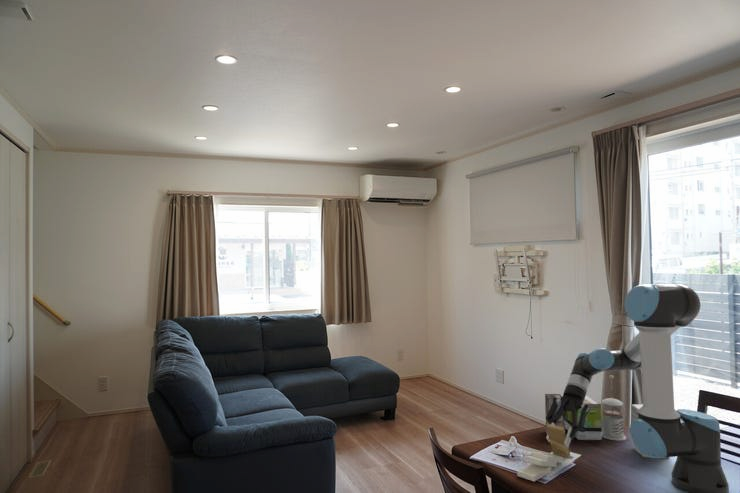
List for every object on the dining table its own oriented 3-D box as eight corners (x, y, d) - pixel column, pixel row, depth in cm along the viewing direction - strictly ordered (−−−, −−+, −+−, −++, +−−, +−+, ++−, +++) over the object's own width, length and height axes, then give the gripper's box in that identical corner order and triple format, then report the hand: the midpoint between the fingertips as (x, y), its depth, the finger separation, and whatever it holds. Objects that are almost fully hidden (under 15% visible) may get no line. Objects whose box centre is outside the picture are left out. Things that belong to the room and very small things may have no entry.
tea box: (602, 440, 194) (601, 403, 194) (577, 440, 194) (576, 403, 195) (586, 427, 209) (586, 393, 209) (563, 427, 209) (562, 393, 210)
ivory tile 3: (534, 461, 169) (517, 470, 161) (551, 466, 165) (534, 476, 156) (534, 466, 169) (517, 475, 161) (551, 471, 165) (534, 481, 156)
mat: (558, 450, 184) (558, 448, 184) (581, 456, 178) (581, 454, 178) (525, 470, 167) (525, 468, 167) (550, 478, 161) (549, 476, 161)
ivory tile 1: (547, 453, 176) (531, 451, 168) (563, 457, 171) (548, 456, 163) (546, 457, 175) (531, 456, 167) (563, 462, 171) (547, 461, 163)
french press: (594, 434, 201) (593, 373, 202) (613, 429, 206) (612, 370, 206) (615, 442, 192) (613, 378, 193) (634, 437, 197) (633, 375, 198)
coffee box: (565, 440, 195) (564, 399, 195) (548, 439, 196) (548, 399, 196) (561, 432, 203) (560, 393, 204) (545, 431, 205) (544, 393, 205)
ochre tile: (554, 450, 181) (548, 423, 178) (570, 455, 176) (564, 427, 173) (552, 453, 180) (546, 426, 177) (568, 457, 175) (562, 430, 172)
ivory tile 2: (540, 457, 172) (524, 455, 164) (556, 462, 168) (541, 460, 160) (540, 461, 172) (523, 460, 164) (556, 466, 167) (540, 465, 159)
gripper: (604, 400, 182) (586, 455, 171) (555, 389, 196) (536, 440, 185) (598, 388, 179) (579, 444, 167) (549, 379, 193) (529, 430, 181)
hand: (557, 442), depth 176 cm, fingers closed on ochre tile, 6 cm apart
